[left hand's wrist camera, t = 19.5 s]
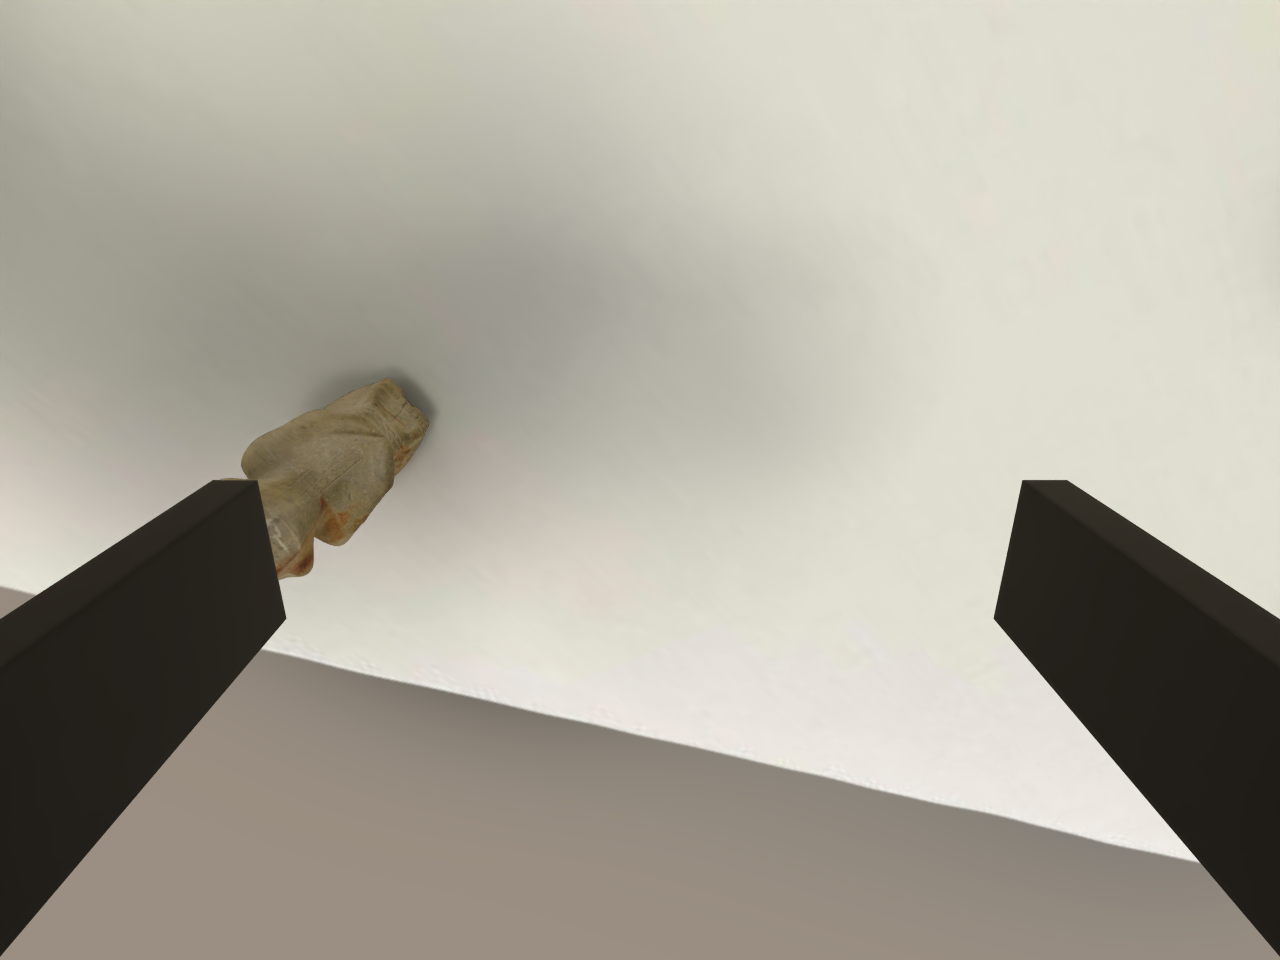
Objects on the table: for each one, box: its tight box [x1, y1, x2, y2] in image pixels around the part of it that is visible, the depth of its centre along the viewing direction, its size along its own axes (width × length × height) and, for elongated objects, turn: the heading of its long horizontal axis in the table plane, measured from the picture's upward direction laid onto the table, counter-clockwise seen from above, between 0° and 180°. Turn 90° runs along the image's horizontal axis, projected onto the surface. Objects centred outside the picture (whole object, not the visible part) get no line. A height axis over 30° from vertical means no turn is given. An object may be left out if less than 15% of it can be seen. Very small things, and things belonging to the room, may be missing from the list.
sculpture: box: [221, 378, 429, 580], centre depth 33 cm, size 6×7×15 cm
